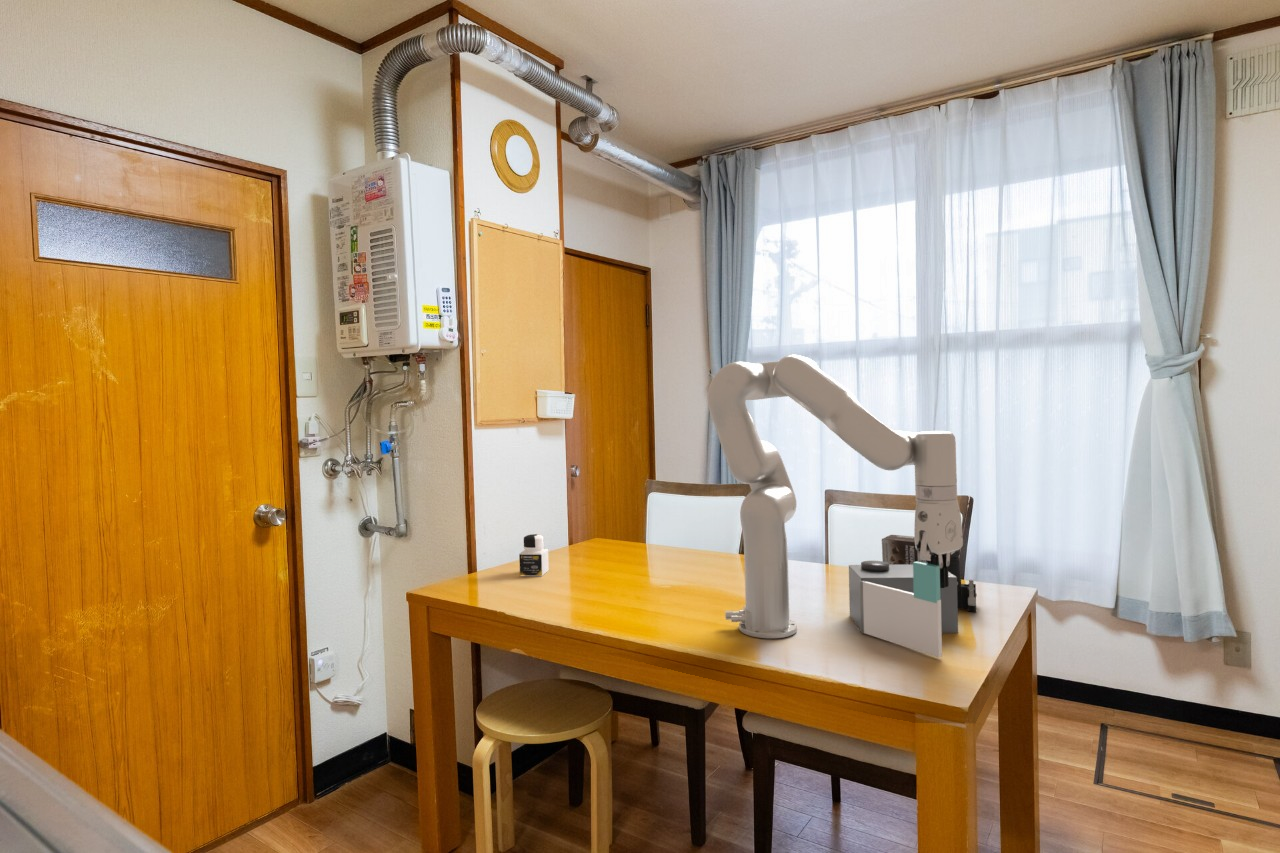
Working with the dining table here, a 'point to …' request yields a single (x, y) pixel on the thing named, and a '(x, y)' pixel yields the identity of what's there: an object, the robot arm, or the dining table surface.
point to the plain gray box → (900, 580)
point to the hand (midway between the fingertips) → (938, 586)
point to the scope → (962, 585)
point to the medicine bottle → (534, 556)
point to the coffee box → (900, 550)
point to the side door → (905, 611)
